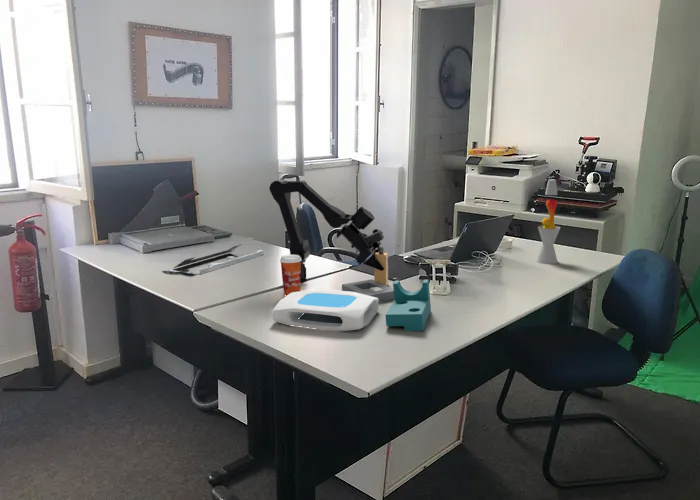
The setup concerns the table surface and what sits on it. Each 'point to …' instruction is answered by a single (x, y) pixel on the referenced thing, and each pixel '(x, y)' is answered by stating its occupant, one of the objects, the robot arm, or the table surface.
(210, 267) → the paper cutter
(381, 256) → the plug
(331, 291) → the document scanner
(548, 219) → the lava lamp
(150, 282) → the table surface
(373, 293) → the socket plate
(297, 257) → the paper cup
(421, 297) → the teal l-shaped bracket
